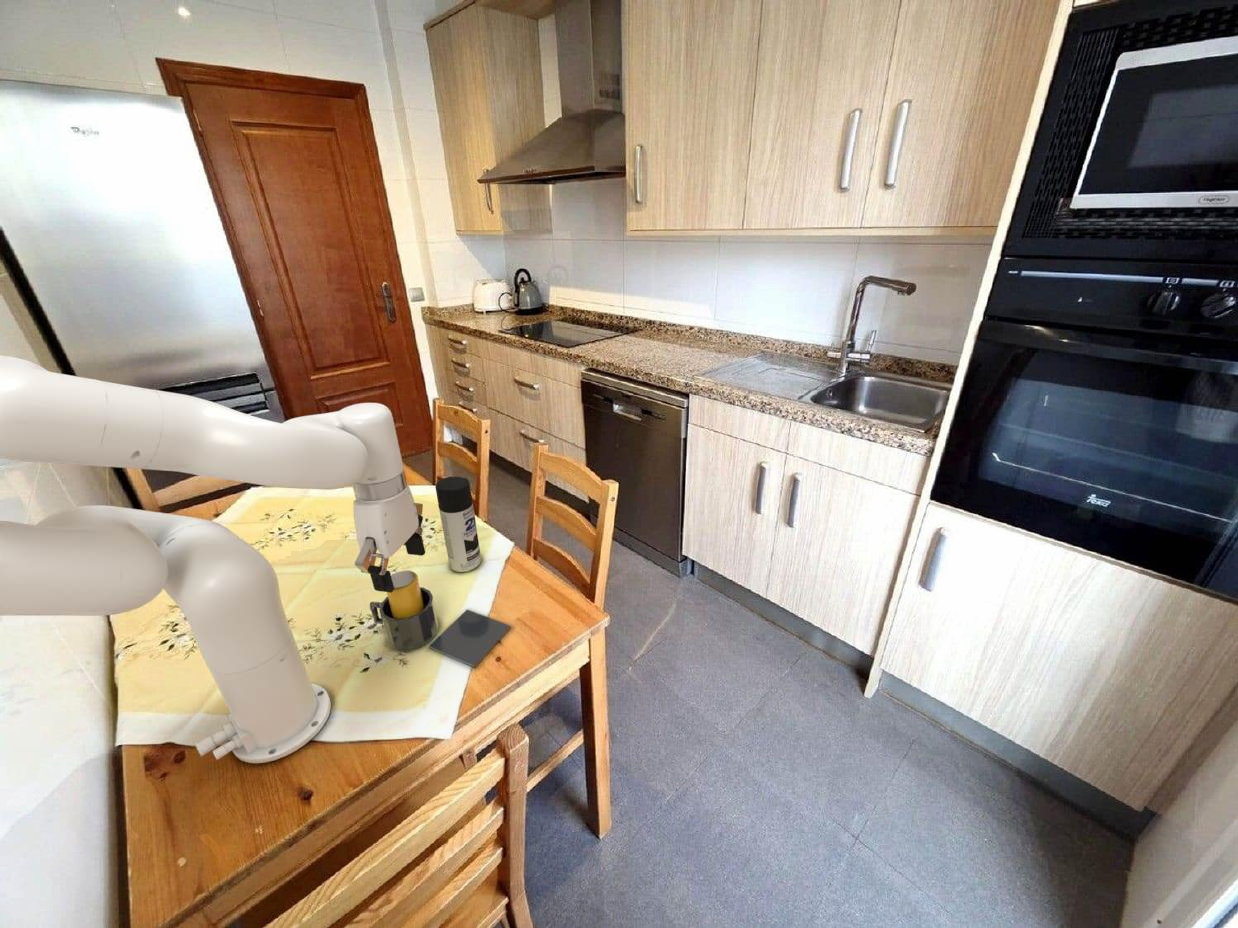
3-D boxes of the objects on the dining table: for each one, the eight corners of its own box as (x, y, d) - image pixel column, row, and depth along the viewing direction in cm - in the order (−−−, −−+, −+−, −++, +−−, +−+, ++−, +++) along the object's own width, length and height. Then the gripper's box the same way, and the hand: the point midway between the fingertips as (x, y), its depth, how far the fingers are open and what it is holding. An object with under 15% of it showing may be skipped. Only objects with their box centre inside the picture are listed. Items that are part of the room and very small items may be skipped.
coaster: (475, 668, 84) (474, 665, 84) (429, 648, 88) (428, 645, 87) (510, 628, 92) (510, 625, 92) (467, 611, 96) (467, 609, 96)
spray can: (472, 575, 105) (460, 492, 97) (443, 571, 107) (428, 488, 98) (486, 556, 111) (476, 476, 102) (458, 552, 112) (445, 473, 104)
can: (406, 645, 87) (394, 593, 82) (391, 631, 90) (378, 579, 85) (433, 629, 91) (423, 577, 86) (418, 615, 94) (407, 565, 89)
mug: (446, 619, 94) (441, 589, 91) (423, 654, 86) (416, 623, 83) (390, 611, 96) (382, 582, 93) (361, 645, 88) (353, 614, 85)
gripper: (389, 457, 85) (408, 539, 93) (319, 510, 70) (348, 603, 78) (430, 460, 84) (446, 543, 92) (367, 515, 69) (392, 609, 77)
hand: (401, 571), depth 85 cm, fingers open, 9 cm apart
